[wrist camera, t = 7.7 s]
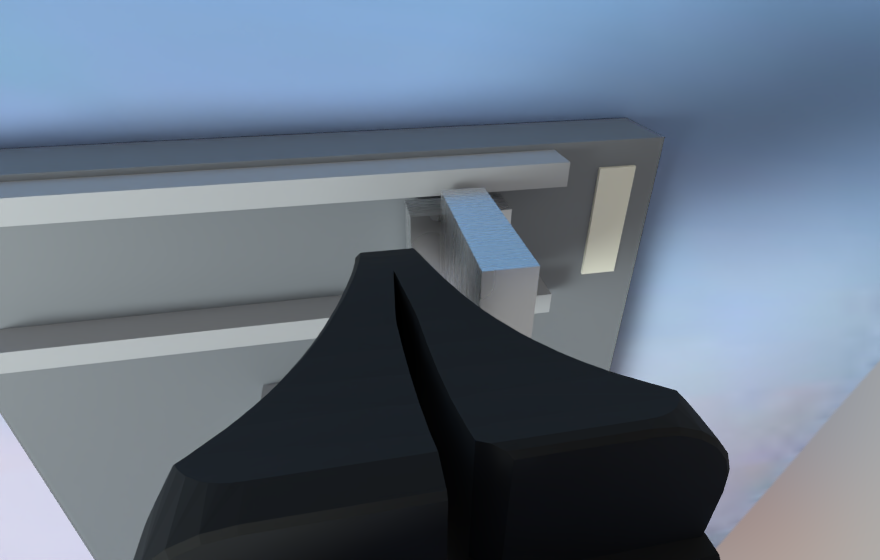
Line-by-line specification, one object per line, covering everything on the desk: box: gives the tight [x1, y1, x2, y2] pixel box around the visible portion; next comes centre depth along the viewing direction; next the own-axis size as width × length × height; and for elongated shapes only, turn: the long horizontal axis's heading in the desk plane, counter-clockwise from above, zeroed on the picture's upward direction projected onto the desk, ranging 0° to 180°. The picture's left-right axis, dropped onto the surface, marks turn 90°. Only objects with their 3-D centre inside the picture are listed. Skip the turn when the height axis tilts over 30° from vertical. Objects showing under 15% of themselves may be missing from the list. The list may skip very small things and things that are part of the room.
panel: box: [0, 118, 665, 560], centre depth 17 cm, size 19×18×4 cm
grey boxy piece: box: [405, 187, 540, 338], centre depth 11 cm, size 4×2×5 cm, turn 0°
